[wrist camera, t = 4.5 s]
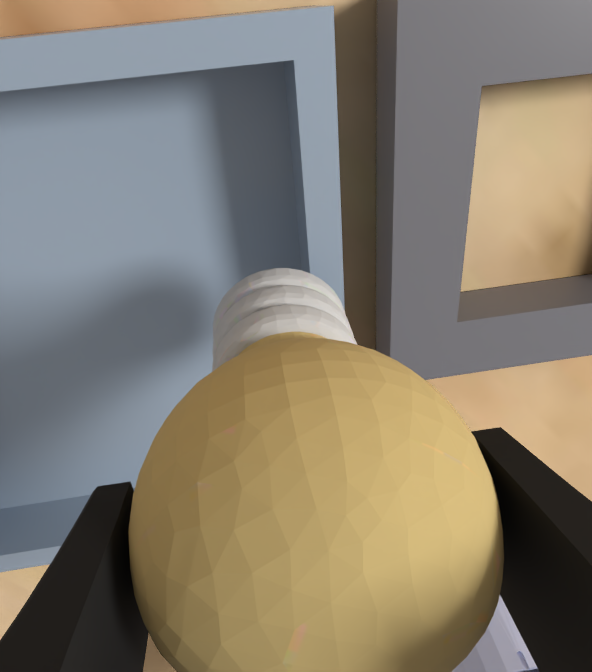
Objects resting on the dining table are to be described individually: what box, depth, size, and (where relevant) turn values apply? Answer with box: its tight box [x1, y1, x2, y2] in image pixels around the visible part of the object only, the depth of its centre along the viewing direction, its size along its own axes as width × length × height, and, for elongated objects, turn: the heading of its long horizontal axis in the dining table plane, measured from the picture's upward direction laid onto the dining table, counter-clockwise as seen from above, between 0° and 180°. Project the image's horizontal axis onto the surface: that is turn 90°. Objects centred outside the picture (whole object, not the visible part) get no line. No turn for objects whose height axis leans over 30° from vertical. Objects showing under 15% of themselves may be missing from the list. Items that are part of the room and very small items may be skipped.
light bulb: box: [128, 268, 504, 672], centre depth 11 cm, size 6×6×10 cm
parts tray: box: [0, 6, 345, 572], centre depth 17 cm, size 18×16×3 cm
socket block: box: [376, 0, 592, 380], centre depth 17 cm, size 12×12×2 cm
